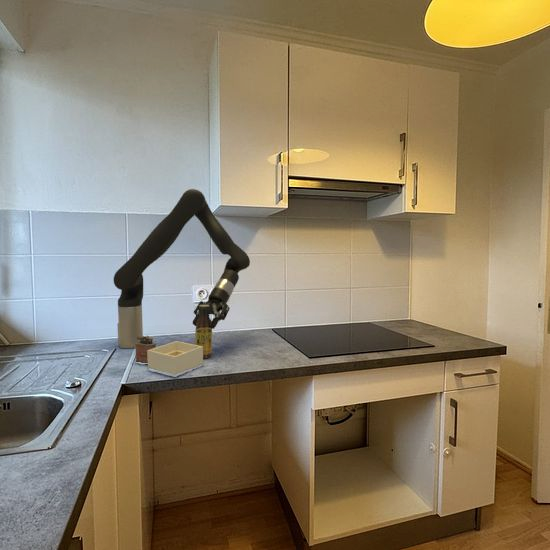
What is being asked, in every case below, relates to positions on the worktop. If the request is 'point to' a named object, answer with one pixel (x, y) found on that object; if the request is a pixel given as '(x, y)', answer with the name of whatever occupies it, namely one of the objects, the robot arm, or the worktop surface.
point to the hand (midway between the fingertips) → (202, 326)
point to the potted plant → (143, 348)
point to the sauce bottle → (204, 331)
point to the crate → (175, 357)
